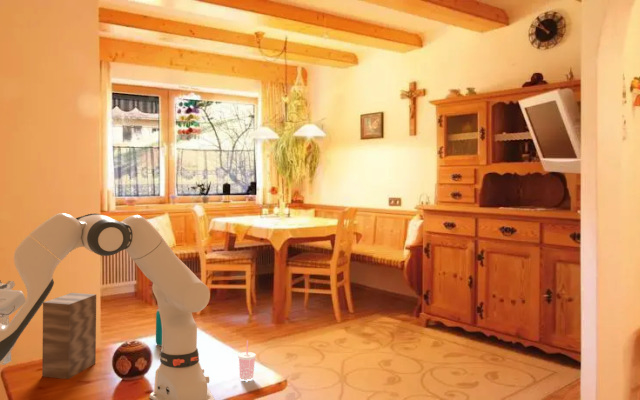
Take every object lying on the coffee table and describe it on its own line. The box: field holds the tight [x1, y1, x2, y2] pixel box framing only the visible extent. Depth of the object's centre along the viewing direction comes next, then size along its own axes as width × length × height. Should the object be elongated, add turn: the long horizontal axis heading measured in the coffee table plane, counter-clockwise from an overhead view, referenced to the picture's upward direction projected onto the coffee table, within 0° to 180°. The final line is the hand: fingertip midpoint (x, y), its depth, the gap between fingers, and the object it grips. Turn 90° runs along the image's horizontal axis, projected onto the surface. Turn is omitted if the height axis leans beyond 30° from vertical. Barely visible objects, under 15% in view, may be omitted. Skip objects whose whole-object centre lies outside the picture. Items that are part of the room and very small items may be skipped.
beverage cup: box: [237, 340, 257, 380], centre depth 186 cm, size 6×6×14 cm
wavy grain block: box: [41, 292, 97, 380], centre depth 190 cm, size 16×10×26 cm, turn 171°
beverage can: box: [155, 308, 162, 347], centre depth 222 cm, size 6×6×15 cm
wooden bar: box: [0, 283, 12, 366], centre depth 157 cm, size 24×3×3 cm
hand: (5, 282), depth 159 cm, fingers closed on wooden bar, 3 cm apart
